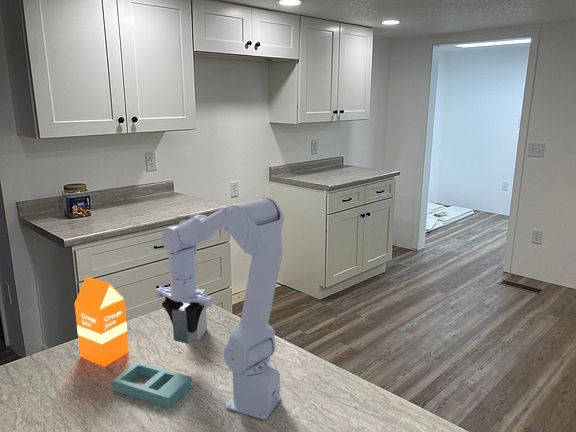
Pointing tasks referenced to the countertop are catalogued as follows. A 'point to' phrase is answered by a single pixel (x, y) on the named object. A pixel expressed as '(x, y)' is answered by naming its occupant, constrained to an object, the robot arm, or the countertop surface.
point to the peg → (182, 325)
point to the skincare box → (201, 319)
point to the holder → (153, 384)
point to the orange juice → (101, 322)
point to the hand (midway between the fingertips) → (185, 328)
